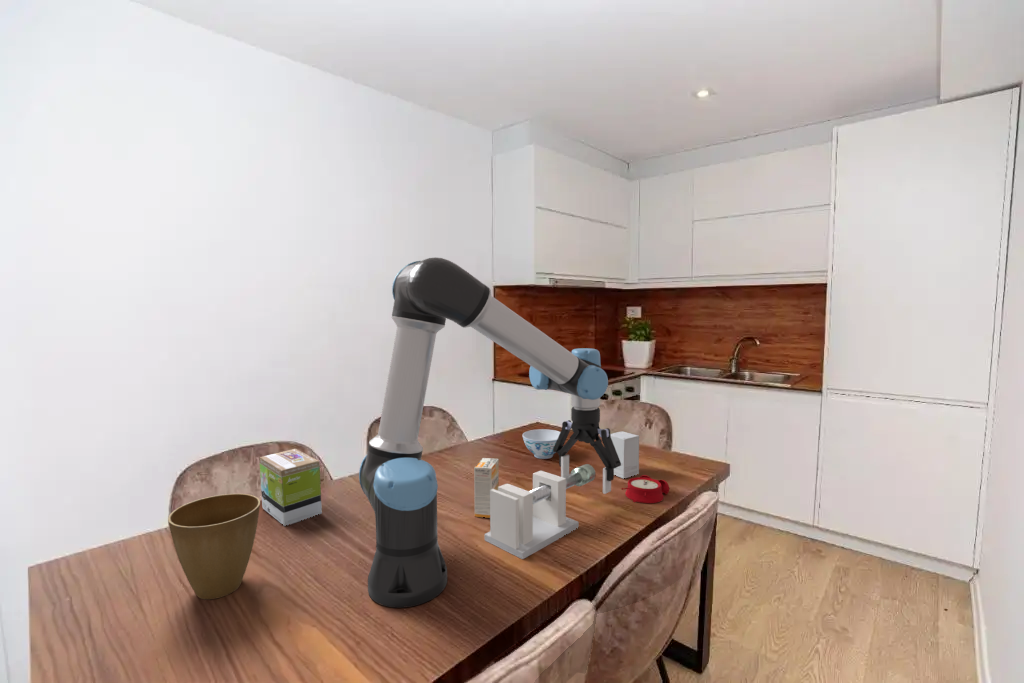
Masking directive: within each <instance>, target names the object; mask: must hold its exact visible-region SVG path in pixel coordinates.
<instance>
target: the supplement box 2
mask: <svg viewBox="0 0 1024 683" xmlns="http://www.w3.org/2000/svg"><path fill="white" fill-rule="evenodd" d="M610 435H611V439H612V442H613V444H614V447H615V449H616V452H617V455H618V457H619V460H620V462H621V466H619V467H617V468H614V476H615V475H616V477H618V478H621V479H624V478H625V479H627V478H631V476H632V477H634V475H635V476H638V475H639V474H640V435H638V434H634V433H630V432H626V431H623V430H622V431H617V432H613V433H610ZM637 474H638V475H637Z"/></svg>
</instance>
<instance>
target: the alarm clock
mask: <svg viewBox="0 0 1024 683" xmlns="http://www.w3.org/2000/svg"><path fill="white" fill-rule="evenodd" d="M621 490H622V491H623V490H625V493H624V494H625V497H626V498H627V499H629V500H631V501H633V502H632V503H635V502H636V503H640V504H641V503H642V504H656V503H660V502H662V501H663V500H664V495H668V494H669V493H670V485H669V483H668V481H666V480H664V479H654V478H652V477H650V476H649V475H647V474H642V475H640V476H638V477H632V478H631V477H630V479H628V480H627V487H624V488H623V487H622V488H621ZM663 493H664V494H663Z"/></svg>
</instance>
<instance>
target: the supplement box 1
mask: <svg viewBox="0 0 1024 683" xmlns="http://www.w3.org/2000/svg"><path fill="white" fill-rule="evenodd" d="M499 460H500V459H499V458H488V457H487V458H486V457H482V458H481V459H480V460H479V462H477V463H476V465H475V466H474V468H473V470H474V471H473V473H474V474H473V478H474V481H473V484H474V489H473V490H474V517H476V518H483V517H485V518H486V519H490V490H491V489H495V490H498V487H499V486H500V484H499V471H500V470H499V467H500V466H499V462H500V461H499Z"/></svg>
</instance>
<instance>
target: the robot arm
mask: <svg viewBox="0 0 1024 683" xmlns="http://www.w3.org/2000/svg"><path fill="white" fill-rule="evenodd" d="M391 287H392V288H391V291H392V298H393V299H394V302H393V306H392V307H393V308H392V314H391V319H392V320H393V321H394V324H395V325H396V332H395V336H394V337H395V338H394V342H393V343H394V344H393V348H392V354H391V360H390V365H389V372H388V375H387V382H386V387H385V393H384V398H383V402H382V403H383V405H382V411H381V414H380V415H381V416H380V422H379V427H378V433H377V435H375V436H374V437H373V438H371V439H370V440H369V442H368V445H367V446H368V447H367V453H366V454H365V455H364V457H363V459H362V461H361V462H360V465H359V466H360V467H359V471H358V473H359V474H358V476H359V477H358V478H359V479H358V480H359V484H360V488H361V490H362V492H363V494H364V495H365V496H366V498H367V500H368V502H369V503H370V506H371V507H372V509H373V511H374V516H375V541H376V542H375V543H376V544H375V546H376V547H375V548H376V549H375V553H374V555H373V559H372V563H371V567H370V571H369V573H368V576H367V593H368V596H369V597H370V598H371V600H372V601H374V602H375V603H377V604H379V605H381V606H383V607H390V608H409V607H414V606H419V605H422V604H425V603H427V602H429V601H432V600H433V599H435V598H436V597H438V596H439V595H440V594H441V593H443V591H444V590H445V589H446V586H447V583H448V567H447V564H446V561H445V559H444V556H443V552H442V551H441V548H440V545H439V542H438V489H439V483H438V480H437V474H436V473H437V472H436V470H435V468H434V466H432V465H431V464H430V463H429V462H427V461H425V460H424V459H422V456H423V450H424V448H423V447H424V446H422V445H421V443H420V442H419V440H418V438H419V432H420V426H421V422H422V416H423V412H424V404H425V400H426V394H427V388H428V381H429V376H430V371H431V367H432V359H433V355H434V350H435V349H434V348H435V342H436V339H437V338H436V336H437V333H438V332H440V331H441V330H443V329H444V328H445V327H446V326H445V325H446V320H449V321H452V322H454V323H455V324H457V325H458V326H460V327H461V328H463V329H466V328H469V327H470V328H472V329H474V330H476V331H477V332H478V333H480V334H481V335H483V336H485V337H486V338H488V339H489V340H490V341H492V342H494V343H495V344H497V345H498V346H500V347H501V348H503V349H505V351H507V352H509V353H511V355H513V356H515V357H516V358H518V359H519V360H521V361H523V362H524V363H526V364H527V365H529V366H530V367H529V372H528V374H529V375H528V377H529V381H530V383H531V386H532V387H533V389H535V390H538V391H540V390H542V391H543V390H545V391H548V390H556V391H559V392H562V393H566V394H568V395H569V394H570V395H571V397H570V399H571V400H570V402H571V403H570V405H571V406H572V407H571V408H570V410H571V414H570V416H571V417H570V419H571V420H564V421H563V422H562V424H561V430H560V431H559V432H560V434H559V437H558V439H557V441H556V444H555V446H554V448H553V451H554V452H556V453H557V454H558V465H559V467H560V477H564V476H567V475H569V474H570V454H568V453H569V451H570V450H571V449H572V447H573V446H574V445H575V444H576V443H577V441H578V442H582V443H585V444H590V446H591V447H593V449H594V450H595V452H596V454H597V455H598V457H599V458H600V461H601V462H602V464H603V465H604V467H603V468H602V494H604V495H606V494H607V493H610V492H611V491H612V481H613V480H614V479H615V475H614V468H617V467H619V466H621V462H620V460H619V457H618V455H617V452H616V449H615V447H614V444H613V442H612V439H611V435H610V434H611V429H610V428H608V427H607V428H600V421H601V409H600V408H599V407H600V406H601V397H602V396H604V394H605V393H606V392H607V389H608V386H609V380H608V374H607V372H606V371H605V370H604V369H602V368H601V367H602V365H601V354H600V351H599V350H598V349H597V348H596V349H595V348H589V347H588V348H587V347H586V348H583V347H582V348H579V347H578V348H574V349H573V348H572V350H571V351H569V350H568V349H567V348H565V347H564V346H562V345H561V344H560V343H558V342H557V341H555V339H552V337H550V336H549V335H547V334H546V333H545V332H543V331H541V329H539V328H538V327H536V326H534V325H533V324H532V323H531V322H529V321H527V320H526V319H524V318H523V317H522V316H521V315H519V314H517V313H516V312H515V311H514V310H512V309H510V308H509V307H508V306H506V304H504V303H502V302H501V301H499V299H497V298H496V297H494V296H492V290H491V288H490V287H489V286H487V285H486V284H485V283H483V282H482V281H480V280H479V279H478V278H476V277H475V276H473V275H472V274H471V273H470V272H468V271H467V270H465V269H464V268H463V267H461V266H459V265H458V264H457V263H455V262H453V261H452V260H449V259H446V258H443V257H429V258H425V259H423V260H417V261H413V262H410V263H408V264H407V265H405V266H404V267H402V268H401V269H400V270H399V272H397V274H396V275H395V277H394V279H393V282H392V286H391ZM571 430H572V432H573V433H572V434H571V435H570V436H569V434H570V431H571ZM568 436H569V439H568V440H567V438H568Z"/></svg>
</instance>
